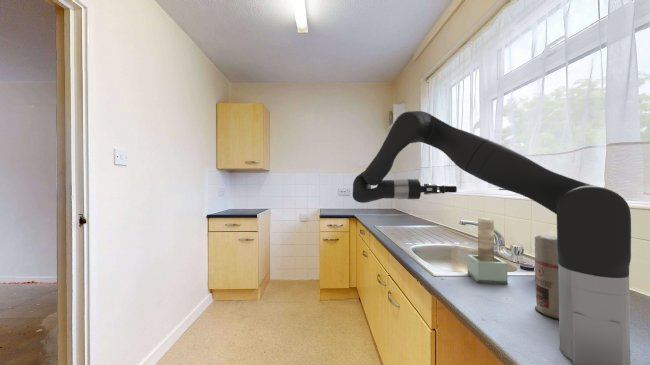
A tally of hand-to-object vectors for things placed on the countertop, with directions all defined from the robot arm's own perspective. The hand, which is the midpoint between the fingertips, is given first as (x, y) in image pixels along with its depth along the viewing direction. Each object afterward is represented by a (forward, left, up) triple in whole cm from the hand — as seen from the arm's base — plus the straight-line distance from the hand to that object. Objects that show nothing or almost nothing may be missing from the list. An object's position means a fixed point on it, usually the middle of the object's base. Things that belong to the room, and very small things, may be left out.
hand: (452, 189), depth 90 cm
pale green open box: (+5, -10, -32) cm, 34 cm away
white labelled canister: (-12, -27, -32) cm, 43 cm away
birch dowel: (+5, -10, -31) cm, 33 cm away
